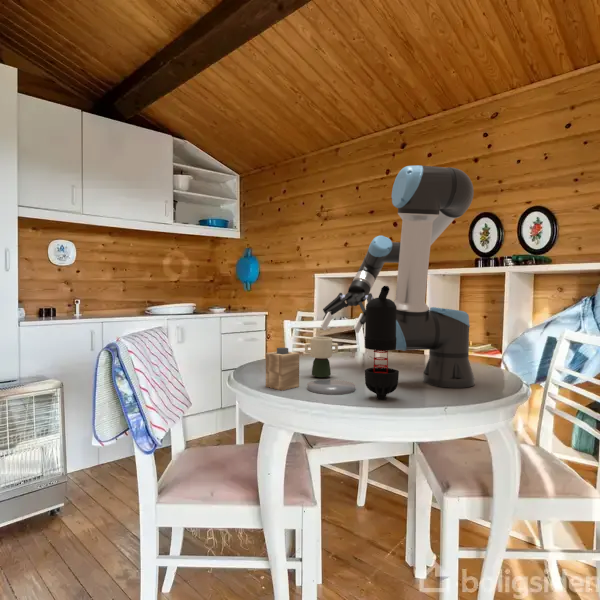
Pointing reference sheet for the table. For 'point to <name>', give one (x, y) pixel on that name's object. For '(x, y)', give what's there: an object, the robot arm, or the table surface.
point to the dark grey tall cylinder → (282, 350)
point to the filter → (381, 343)
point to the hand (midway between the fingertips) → (339, 329)
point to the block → (282, 370)
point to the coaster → (331, 387)
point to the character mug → (321, 355)
